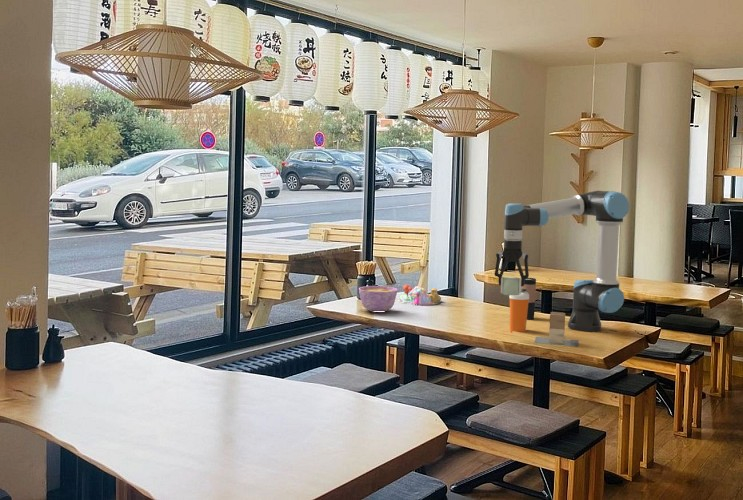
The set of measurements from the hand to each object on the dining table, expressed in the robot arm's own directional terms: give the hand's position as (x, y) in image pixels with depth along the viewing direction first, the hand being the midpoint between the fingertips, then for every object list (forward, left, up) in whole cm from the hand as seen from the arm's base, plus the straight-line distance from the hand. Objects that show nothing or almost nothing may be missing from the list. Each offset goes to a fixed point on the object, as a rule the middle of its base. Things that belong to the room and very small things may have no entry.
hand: (510, 293), depth 328 cm
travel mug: (-54, +3, -21) cm, 58 cm away
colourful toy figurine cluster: (-80, -58, -21) cm, 100 cm away
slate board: (-1, +20, -21) cm, 29 cm away
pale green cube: (0, 0, 0) cm, 0 cm away
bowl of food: (-43, -71, -21) cm, 86 cm away
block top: (-1, +20, -14) cm, 24 cm away
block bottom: (-1, +20, -20) cm, 28 cm away
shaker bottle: (-19, +2, -21) cm, 28 cm away
